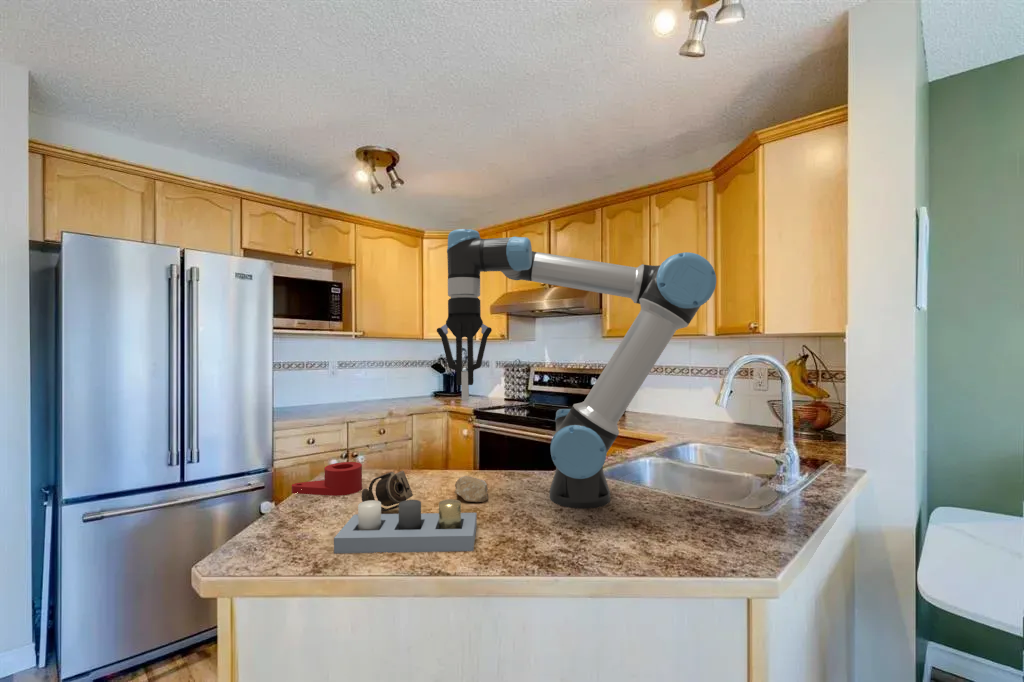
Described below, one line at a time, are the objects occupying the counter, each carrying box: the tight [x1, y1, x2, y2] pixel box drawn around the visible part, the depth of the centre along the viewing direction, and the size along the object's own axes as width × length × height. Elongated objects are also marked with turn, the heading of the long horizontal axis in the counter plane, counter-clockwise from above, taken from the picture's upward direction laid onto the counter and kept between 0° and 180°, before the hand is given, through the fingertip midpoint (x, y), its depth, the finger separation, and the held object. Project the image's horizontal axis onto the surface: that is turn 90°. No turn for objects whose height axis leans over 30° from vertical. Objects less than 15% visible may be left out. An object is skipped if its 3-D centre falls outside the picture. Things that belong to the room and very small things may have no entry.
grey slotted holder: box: [333, 512, 478, 554], centre depth 94 cm, size 26×12×3 cm, turn 91°
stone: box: [454, 475, 489, 503], centre depth 119 cm, size 8×10×4 cm
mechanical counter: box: [361, 470, 414, 512], centre depth 108 cm, size 7×13×10 cm, turn 78°
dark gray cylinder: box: [398, 499, 422, 530], centre depth 94 cm, size 4×4×5 cm
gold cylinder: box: [438, 498, 462, 529], centre depth 94 cm, size 4×4×5 cm
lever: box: [291, 461, 363, 497], centre depth 125 cm, size 18×9×7 cm, turn 95°
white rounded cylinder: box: [357, 499, 382, 531], centre depth 94 cm, size 4×4×5 cm
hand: (465, 399), depth 109 cm, fingers closed
